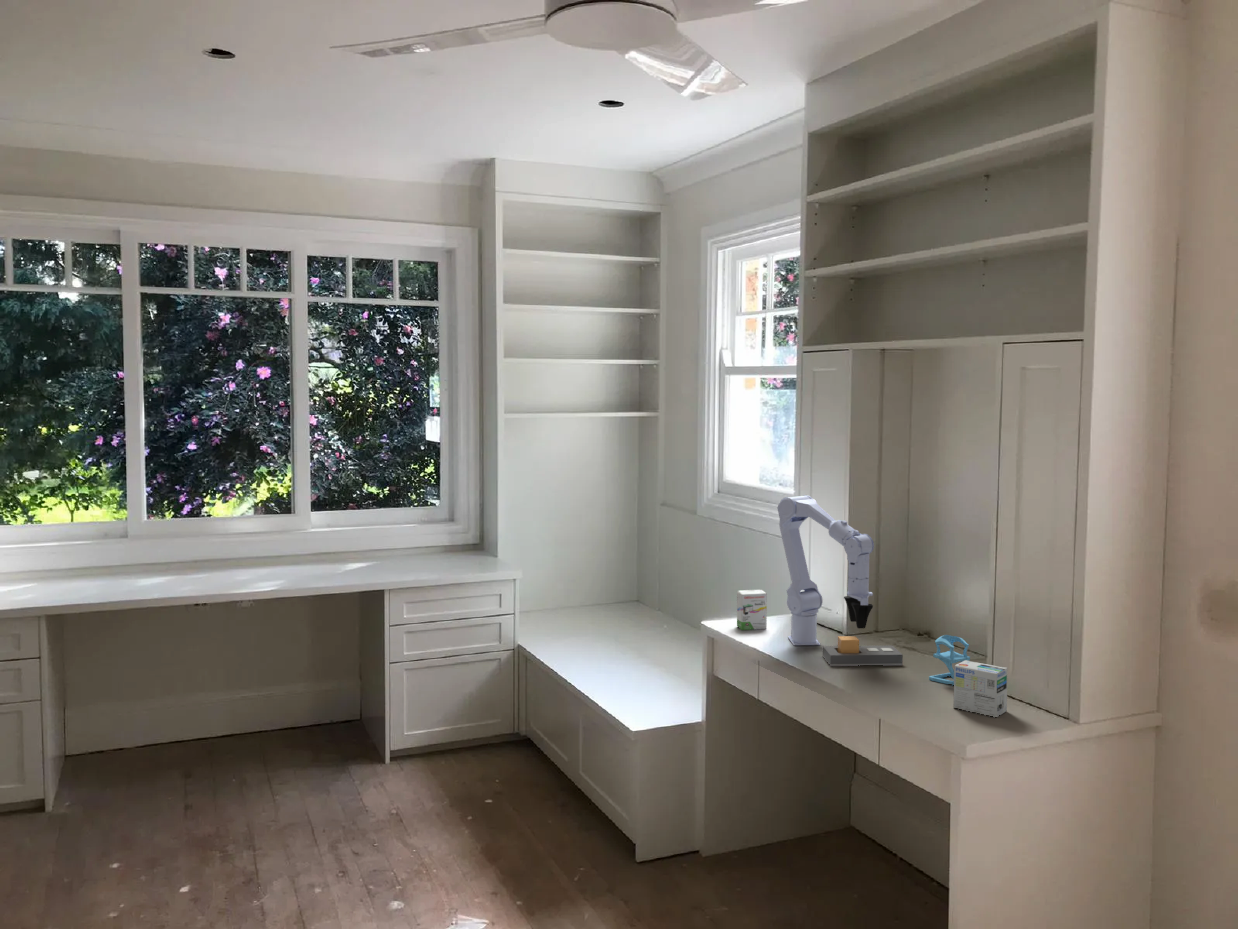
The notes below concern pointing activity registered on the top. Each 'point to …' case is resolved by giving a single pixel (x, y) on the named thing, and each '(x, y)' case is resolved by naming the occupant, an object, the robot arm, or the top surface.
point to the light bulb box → (980, 688)
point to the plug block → (848, 644)
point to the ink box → (751, 609)
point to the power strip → (863, 656)
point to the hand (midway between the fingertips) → (857, 624)
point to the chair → (949, 657)
